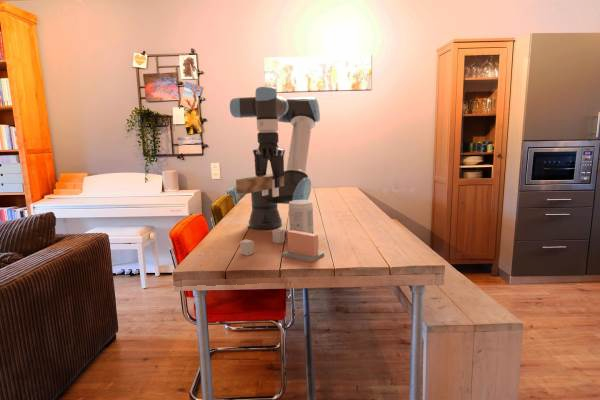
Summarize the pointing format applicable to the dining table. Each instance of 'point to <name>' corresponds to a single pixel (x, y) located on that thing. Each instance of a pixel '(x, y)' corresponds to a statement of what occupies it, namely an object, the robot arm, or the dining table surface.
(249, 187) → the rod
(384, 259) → the dining table surface
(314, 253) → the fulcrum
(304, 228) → the supplement tub
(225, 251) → the dining table surface
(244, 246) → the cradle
